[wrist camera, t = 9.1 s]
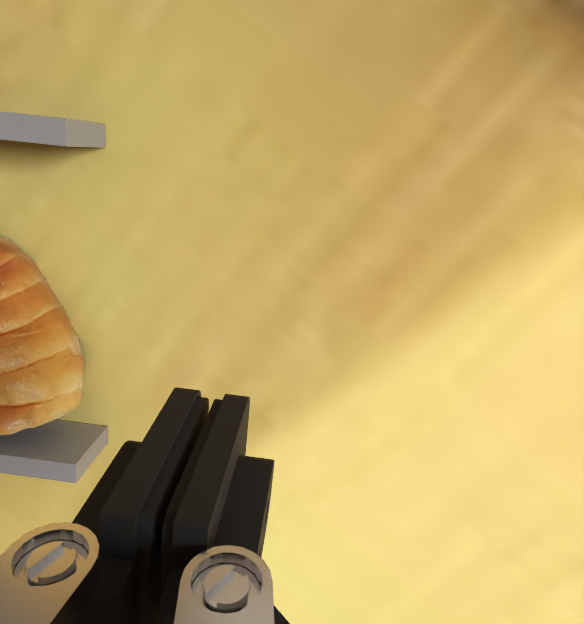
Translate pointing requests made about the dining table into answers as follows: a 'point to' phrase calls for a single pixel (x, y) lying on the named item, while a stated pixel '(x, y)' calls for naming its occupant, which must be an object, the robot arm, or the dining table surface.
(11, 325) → the pastry
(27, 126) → the gray u-shaped fence
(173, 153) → the dining table surface
